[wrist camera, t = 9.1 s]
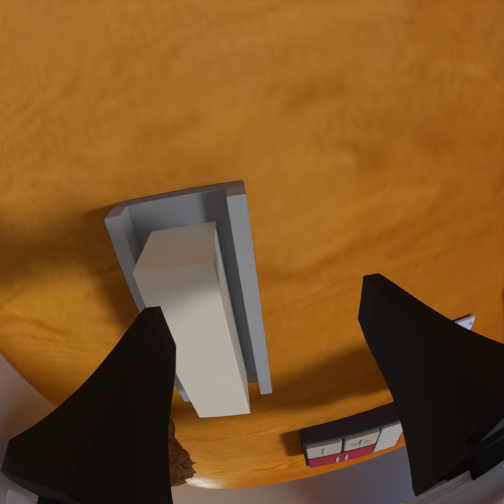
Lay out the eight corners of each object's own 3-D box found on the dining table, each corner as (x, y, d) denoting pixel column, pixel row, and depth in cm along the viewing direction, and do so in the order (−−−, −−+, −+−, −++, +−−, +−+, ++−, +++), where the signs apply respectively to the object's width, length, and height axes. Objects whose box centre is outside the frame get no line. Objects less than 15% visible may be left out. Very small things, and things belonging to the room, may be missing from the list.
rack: (268, 371, 26) (272, 393, 24) (185, 380, 26) (184, 401, 24) (243, 180, 17) (245, 194, 15) (117, 203, 17) (103, 219, 15)
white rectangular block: (246, 369, 24) (250, 413, 21) (201, 374, 24) (200, 417, 21) (215, 221, 17) (213, 261, 14) (151, 231, 17) (132, 273, 14)
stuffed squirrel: (88, 417, 31) (71, 501, 19) (133, 381, 26) (114, 500, 15) (150, 444, 35) (144, 522, 23) (209, 415, 30) (212, 520, 19)
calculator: (302, 450, 31) (412, 421, 30) (298, 422, 35) (403, 396, 34) (307, 470, 37) (397, 447, 35) (303, 448, 40) (390, 426, 39)
